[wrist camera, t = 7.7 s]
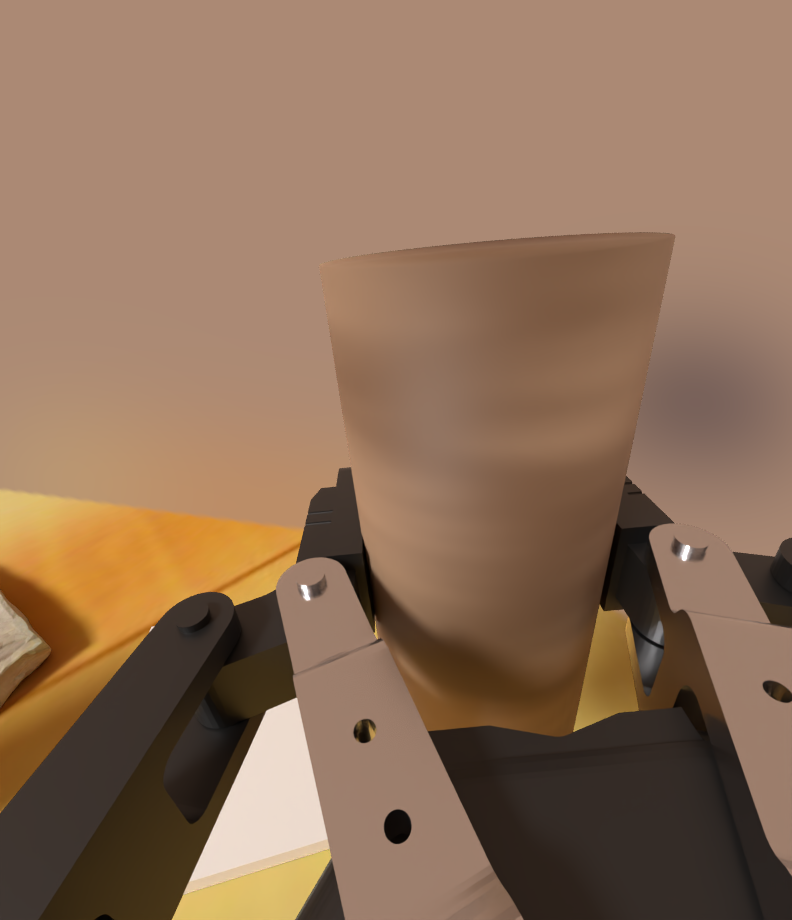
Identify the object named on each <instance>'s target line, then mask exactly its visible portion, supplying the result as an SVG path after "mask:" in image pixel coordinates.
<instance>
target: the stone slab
mask: <svg viewBox="0 0 792 920" xmlns="http://www.w3.org/2000/svg"><path fill="white" fill-rule="evenodd" d="M51 651H52V650H51V648H50V647H49V645H48V644H46V642H45V641H44V640H43V638H42V637H41V636H39V635H38V634H37V633H36V632H35V631H34V630H33V629H32V626H31V625H30V623H29V620H28V619H27V617H26V616H25V615H24V614H23V613H22V612H21V611H20V610H19V609H18V608H17V607H15V606H14V605H13V604H11V603H10V602H9V601H8V600H7V599H6V597H5V596H4V594H3V593H2V591H1V589H0V708H1V706H2V705H3V704H4V703H5V701H6V700H7V698H8V697H9V695H10V694H11V693H12V692H13V691H14V690H15V689H16V687H17V686H18V684H19V683H20V682H21V681H22V680H23V679H24V678H25V677H27V676H28V675H30V674H31V673H32V672H33V671H34V670H35V669H37V668H38V667H39V666H40V665H41V664H42V662H43V661H44V660H45V659H46V658H47V657H48V656H49V655H50V653H51Z"/></svg>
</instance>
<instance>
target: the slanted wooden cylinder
mask: <svg viewBox="0 0 792 920" xmlns="http://www.w3.org/2000/svg"><path fill="white" fill-rule="evenodd" d="M674 240H675V235H674V234H669V233H648V232H647V233H645V232H643V233H642V232H639V233H603V234H581V235H564V236H549V237H534V238H521V239H507V240H495V241H484V242H473V243H463V244H452V245H443V246H432V247H423V248H414V249H406V250H398V251H390V252H382V253H375V254H367V255H361V256H355V257H349V258H343V259H338V260H333V261H329V262H325V263H322V264H320V265H319V267H320V274H321V280H322V287H323V293H324V299H325V305H326V311H327V317H328V325H329V330H330V337H331V343H332V350H333V356H334V362H335V368H336V374H337V381H338V387H339V394H340V400H341V407H342V413H343V419H344V425H345V432H346V438H347V445H348V451H349V457H350V463H351V470H352V476H353V482H354V489H355V495H356V501H357V508H358V514H359V520H360V527H361V533H362V536H363V542H364V549H365V555H366V561H367V568H368V574H369V580H370V587H371V593H372V599H373V606H374V612H375V621H376V628H377V634H378V639H380V638H381V639H383V640H384V642H385V643H386V645H387V647H388V649H389V651H390V653H391V655H392V657H393V659H394V662H395V664H396V666H397V668H398V670H399V672H400V674H401V676H402V678H403V681H404V683H405V685H406V687H407V689H408V691H409V693H410V695H411V698H412V700H413V702H414V704H415V706H416V708H417V710H418V712H419V714H420V717H421V719H422V721H423V723H424V725H425V727H426V729H427V731H435V730H446V729H456V728H467V727H477V726H488V725H490V726H496V727H502V728H507V729H513V730H519V731H525V732H531V733H537V734H542V735H548V736H555V737H560V736H565V735H568V734H570V733H573V730H574V725H575V720H576V715H577V710H578V705H579V701H580V696H581V691H582V686H583V681H584V676H585V672H586V667H587V662H588V657H589V652H590V647H591V642H592V638H593V633H594V628H595V623H596V618H597V613H598V609H599V604H600V599H601V594H602V589H603V584H604V579H605V575H606V570H607V565H608V560H609V555H610V550H611V546H612V541H613V536H614V531H615V526H616V521H617V516H618V512H619V507H620V502H621V497H622V492H623V487H624V483H625V478H626V473H627V468H628V463H629V458H630V453H631V449H632V444H633V439H634V434H635V429H636V424H637V419H638V415H639V410H640V405H641V400H642V395H643V390H644V386H645V381H646V376H647V370H648V366H649V361H650V356H651V352H652V347H653V342H654V337H655V332H656V327H657V322H658V317H659V313H660V308H661V303H662V298H663V293H664V288H665V284H666V279H667V274H668V269H669V264H670V260H671V255H672V250H673V245H674Z"/></svg>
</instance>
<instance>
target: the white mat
mask: <svg viewBox="0 0 792 920" xmlns="http://www.w3.org/2000/svg"><path fill="white" fill-rule="evenodd" d="M153 628H154V626H153V627H151V629H150V631H151V630H152V629H153ZM327 849H330V848H329V843H328V838H327V834H326V829H325V825H324V820H323V815H322V811H321V806H320V802H319V797H318V792H317V788H316V783H315V779H314V774H313V769H312V765H311V760H310V756H309V751H308V746H307V742H306V737H305V733H304V728H303V723H302V719H301V714H300V710H299V705H298V700H297V698H295V699H292V700H290V701H288V702H285V703H283V704H281V705H278V706H276V707H274V708H271V709H269V710H267V711H266V713H265V715H264V717H263V720H262V722H261V724H260V726H259V728H258V731H257V733H256V735H255V737H254V739H253V742H252V744H251V746H250V748H249V750H248V753H247V755H246V757H245V759H244V761H243V764H242V766H241V768H240V770H239V773H238V775H237V777H236V779H235V781H234V784H233V786H232V788H231V790H230V792H229V795H228V797H227V799H226V801H225V803H224V806H223V808H222V810H221V812H220V814H219V817H218V819H217V821H216V823H215V825H214V828H213V830H212V832H211V834H210V836H209V839H208V841H207V843H206V845H205V847H204V850H203V852H202V854H201V856H200V858H199V861H198V863H197V865H196V867H195V869H194V872H193V874H192V876H191V878H190V880H189V883H188V885H187V887H186V889H185V891H184V894H187V893H190V892H193V891H196V890H199V889H203V888H206V887H209V886H212V885H215V884H219V883H222V882H225V881H228V880H231V879H234V878H238V877H241V876H244V875H247V874H250V873H254V872H257V871H260V870H263V869H266V868H270V867H273V866H276V865H279V864H282V863H286V862H289V861H292V860H295V859H298V858H301V857H305V856H308V855H311V854H314V853H317V852H321V851H324V850H327Z"/></svg>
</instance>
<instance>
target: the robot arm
mask: <svg viewBox="0 0 792 920" xmlns="http://www.w3.org/2000/svg"><path fill="white" fill-rule="evenodd" d="M600 605H601V607H602V609H603V610H604V611H611V610H621V609H624V610H625V612H626V614H627V615H628V619H627V623H626V627H625V633H626V639H627V644H628V650H629V656H630V661H631V667H632V672H633V678H634V684H635V689H636V695H637V700H638V707H639V711H635V712H624V713H618V714H615V715H613V716H610V717H608V718H606V719H603V720H601V721H599V722H596V723H594V724H592V725H589V726H587V727H585V728H582V729H580V730H577V731H575V732H573V733H570V734H568V735H565V736H560V737H555V736H548V735H542V734H537V733H531V732H525V731H519V730H513V729H507V728H502V727H496V726H490V725H488V726H477V727H467V728H456V729H446V730H435V731H427V729H426V727H425V725H424V723H423V721H422V719H421V717H420V714H419V712H418V710H417V708H416V706H415V704H414V702H413V700H412V698H411V695H410V693H409V691H408V689H407V687H406V685H405V683H404V681H403V678H402V676H401V674H400V672H399V670H398V668H397V666H396V664H395V662H394V659H393V657H392V655H391V653H390V651H389V649H388V647H387V645H386V643H385V642H384V640H383V639H381V638H380V639H378V640H377V639H376V637H375V635H374V633H373V632H375V612H374V606H373V599H372V593H371V587H370V580H369V574H368V568H367V561H366V555H365V549H364V542H363V536H362V533H361V527H360V520H359V514H358V508H357V501H356V495H355V489H354V482H353V476H352V470H351V467H349V468H340V469H339V473H338V479H337V486H336V487H330V488H321V489H320V490H319V492H318V493H317V494H316V495H315V496H314V497H313V498H312V499H311V502H310V506H309V511H308V515H307V519H306V526H305V527H304V532H303V536H302V540H301V544H300V549H299V553H298V557H297V561H296V564H295V565H293V566H291V567H290V568H289V569H287V570H286V571H285V572H284V573H283V574H282V576H281V577H280V579H279V580H278V583H277V586H276V590H274V591H273V592H271V593H269V594H267V595H264V596H262V597H259V598H256V599H254V600H251V601H248V602H245V603H242V604H239V605H236V606H234V605H233V602H232V600H231V599H230V598H229V597H228V596H226V595H225V594H222V593H218V592H206V593H201V594H197V595H194V596H191V597H189V598H187V599H184V600H183V601H181V602H179V603H178V604H176V605H175V606H173V607H172V608H171V609H170V610H169V611H167V612H166V613H165V615H164V616H163V617H162V618H161V619H160V620H159V621H158V623H157V624H156V625H155V626H154V628H153V629H152V630H151V631H150V632H149V634H148V635H147V636H146V637H145V638H144V640H143V641H142V642H141V643H140V645H139V646H138V647H137V648H136V649H135V651H134V652H133V653H132V654H131V655H130V657H129V658H128V659H127V660H126V662H125V663H124V664H123V665H122V666H121V668H120V669H119V670H118V671H117V672H116V674H115V675H114V676H113V677H112V679H111V680H110V681H109V682H108V683H107V685H106V686H105V687H104V688H103V689H102V691H101V692H100V693H99V694H98V695H97V697H96V698H95V699H94V700H93V702H92V703H91V704H90V705H89V706H88V708H87V709H86V710H85V711H84V712H83V714H82V715H81V716H80V717H79V719H78V720H77V721H76V722H75V723H74V725H73V726H72V727H71V728H70V729H69V731H68V732H67V733H66V734H65V736H64V737H63V738H62V739H61V740H60V742H59V743H58V744H57V745H56V746H55V748H54V749H53V750H52V751H51V753H50V754H49V755H48V756H47V757H46V759H45V760H44V761H43V762H42V763H41V765H40V766H39V767H38V768H37V770H36V771H35V772H34V773H33V774H32V776H31V777H30V778H29V779H28V780H27V782H26V783H25V784H24V785H23V786H22V788H21V789H20V790H19V791H18V793H17V794H16V795H15V796H14V797H13V799H12V800H11V801H10V802H9V803H8V805H7V806H6V807H5V808H4V810H3V811H2V812H1V813H0V920H172V918H173V916H174V913H175V911H176V909H177V907H178V905H179V902H180V900H181V898H182V896H183V894H184V891H185V889H186V887H187V885H188V883H189V880H190V878H191V876H192V874H193V872H194V869H195V867H196V865H197V863H198V861H199V858H200V856H201V854H202V852H203V850H204V847H205V845H206V843H207V841H208V839H209V836H210V834H211V832H212V830H213V828H214V825H215V823H216V821H217V819H218V817H219V814H220V812H221V810H222V808H223V806H224V803H225V801H226V799H227V797H228V795H229V792H230V790H231V788H232V786H233V784H234V781H235V779H236V777H237V775H238V773H239V770H240V768H241V766H242V764H243V761H244V759H245V757H246V755H247V753H248V750H249V748H250V746H251V744H252V742H253V739H254V737H255V735H256V733H257V731H258V728H259V726H260V724H261V722H262V720H263V717H264V715H265V713H266V711H267V710H269V709H271V708H274V707H276V706H278V705H281V704H283V703H285V702H288V701H290V700H292V699H295V698H297V700H298V705H299V710H300V714H301V719H302V723H303V728H304V733H305V737H306V742H307V746H308V751H309V756H310V760H311V765H312V769H313V774H314V779H315V783H316V788H317V792H318V797H319V802H320V806H321V811H322V815H323V820H324V825H325V829H326V834H327V838H328V843H329V848H330V852H331V857H332V858H331V860H330V862H329V863H328V865H327V867H326V868H325V870H324V872H323V873H322V875H321V877H320V879H319V880H318V882H317V884H316V885H315V887H314V889H313V890H312V892H311V894H310V895H309V897H308V899H307V901H306V902H305V904H304V906H303V907H302V909H301V911H300V912H299V914H298V916H297V918H296V919H295V920H792V538H789V539H787V540H785V541H783V542H782V544H781V545H780V547H779V550H778V552H777V554H776V556H775V557H772V556H763V555H754V554H746V553H738V552H732V550H731V549H730V548H729V546H728V545H727V544H726V543H725V542H724V541H722V540H721V539H720V538H719V537H717V536H716V535H714V534H712V533H710V532H708V531H706V530H703V529H701V528H697V527H694V526H690V525H685V524H675V523H674V522H673V521H672V520H671V519H670V518H669V517H668V516H667V515H666V514H665V513H664V512H663V511H662V510H660V509H659V508H658V507H657V506H656V505H655V504H654V503H653V502H652V501H651V500H650V499H649V498H648V497H647V496H646V495H645V494H642V492H641V490H640V489H639V488H638V487H637V486H636V485H635V484H632V481H631V480H630V479H629V478H628V477H627V476H626V478H625V483H624V487H623V492H622V497H621V502H620V507H619V512H618V516H617V521H616V526H615V531H614V536H613V541H612V546H611V550H610V555H609V560H608V565H607V570H606V575H605V579H604V584H603V589H602V594H601V599H600Z"/></svg>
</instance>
